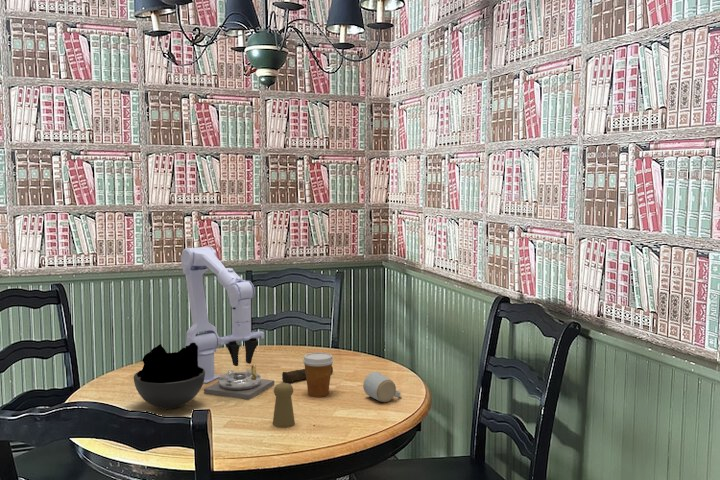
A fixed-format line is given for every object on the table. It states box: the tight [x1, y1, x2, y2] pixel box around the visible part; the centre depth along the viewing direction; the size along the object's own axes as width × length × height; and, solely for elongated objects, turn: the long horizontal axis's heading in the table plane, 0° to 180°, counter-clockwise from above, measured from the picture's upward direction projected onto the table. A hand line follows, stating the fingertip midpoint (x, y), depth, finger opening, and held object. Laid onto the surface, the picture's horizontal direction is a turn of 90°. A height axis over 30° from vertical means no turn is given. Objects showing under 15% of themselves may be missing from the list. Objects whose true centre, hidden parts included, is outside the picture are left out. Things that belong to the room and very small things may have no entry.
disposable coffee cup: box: [302, 352, 334, 398], centre depth 207 cm, size 10×10×12 cm
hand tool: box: [281, 366, 334, 384], centre depth 223 cm, size 19×4×5 cm, turn 124°
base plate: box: [203, 378, 275, 401], centre depth 212 cm, size 16×16×2 cm
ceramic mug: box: [362, 371, 402, 403], centre depth 203 cm, size 11×8×8 cm
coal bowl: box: [133, 343, 205, 410], centre depth 194 cm, size 20×20×19 cm
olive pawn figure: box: [272, 382, 296, 429], centre depth 181 cm, size 6×6×11 cm
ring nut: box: [218, 364, 262, 390], centre depth 211 cm, size 13×13×6 cm
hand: (242, 364), depth 206 cm, fingers open, 4 cm apart
